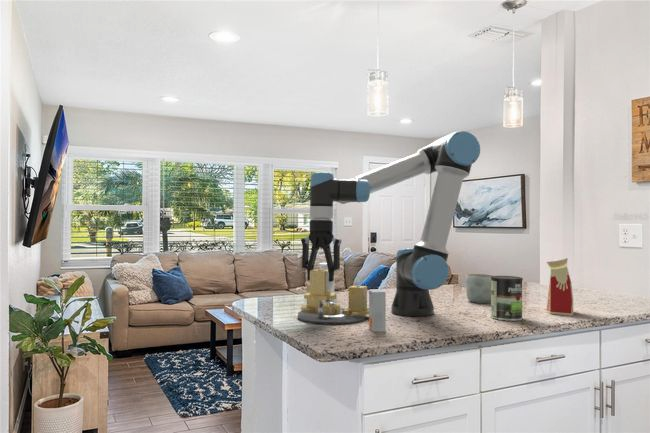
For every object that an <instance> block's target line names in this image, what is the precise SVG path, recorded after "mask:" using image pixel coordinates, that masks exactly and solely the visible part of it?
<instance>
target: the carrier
mask: <svg viewBox="0 0 650 433" xmlns="http://www.w3.org/2000/svg"><path fill="white" fill-rule="evenodd" d="M306 293H310V283H308V284H306ZM347 306H348V307H341V304H340V303H335V302H333V301H329V302H328V303H326V300H312V299H306V304H302V305H301V307H300V311H298V312H297V319H298V320H299V321H301V322H304V323H308V324H309V323H310V324H313V325H315V324H316V325H325V326H326V325H330V326H332V325H333V326H334V325H335V326H336V325H337V326H338V325H352V324H355V323H360V322H363V321H365V320H366V316H369V307H368V286H367V285H360V284H356V285H350V286H349V287H348V304H347Z"/></svg>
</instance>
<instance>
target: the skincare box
mask: <svg viewBox="0 0 650 433" xmlns="http://www.w3.org/2000/svg"><path fill="white" fill-rule="evenodd" d="M386 300H387V298H386V291H385V290H383V289H377V288H376V289H374V288H373V289H368V308H369V315H368V328H369V329H370V330H371V332H374V333H375V332H376V333H377V332H379V333H381V332H382V333H383V332H386V329H387V328H386V322H387V320H386V312H387V308H386V306H387V305H386Z"/></svg>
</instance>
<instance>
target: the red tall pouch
mask: <svg viewBox="0 0 650 433" xmlns="http://www.w3.org/2000/svg"><path fill="white" fill-rule="evenodd" d="M568 259H569V258H568V257H566V258H564V259H559V260H554V261H553V260H551V261H546V263H547V264H548V267H549V268H550V276H549V285H548V287H549V288H548V295H547V304H546V310H545V311H546V312H545V313H547V314H550V315H559V316H573V315H574V293H573V284H572V281H571V277H570V273H569V268H568Z"/></svg>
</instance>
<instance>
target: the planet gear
mask: <svg viewBox="0 0 650 433" xmlns="http://www.w3.org/2000/svg"><path fill="white" fill-rule="evenodd" d="M326 272H328V271H327V270H323V269H318V268H316V269H315V268H314V270H311V274H310V280H309V284H310V293H307V292H304V294H303V299H304V300H305V299H306V300H307V299H312V300H325V301H330V300H329V299H333V300H337V293H336V292H334V293H330V292H326Z"/></svg>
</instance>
